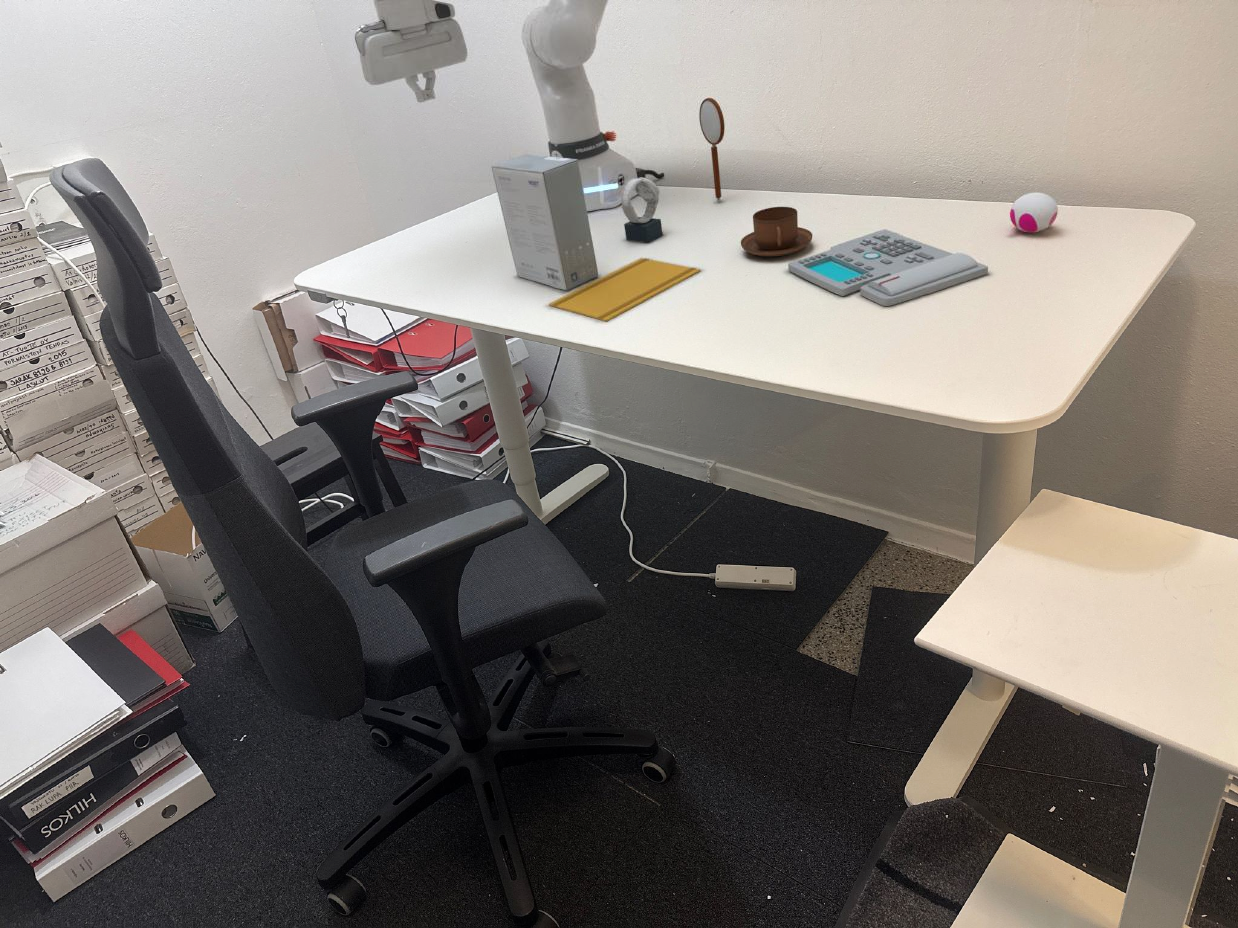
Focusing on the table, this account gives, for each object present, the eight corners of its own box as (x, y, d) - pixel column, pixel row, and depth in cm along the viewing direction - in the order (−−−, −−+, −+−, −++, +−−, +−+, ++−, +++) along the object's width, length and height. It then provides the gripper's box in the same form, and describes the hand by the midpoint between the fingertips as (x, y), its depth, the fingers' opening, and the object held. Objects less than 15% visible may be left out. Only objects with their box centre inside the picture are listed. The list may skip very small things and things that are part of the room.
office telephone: (991, 257, 117) (876, 297, 112) (989, 274, 119) (876, 314, 113) (885, 221, 136) (781, 253, 130) (884, 236, 137) (782, 269, 132)
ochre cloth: (641, 259, 147) (641, 257, 146) (700, 271, 137) (700, 269, 137) (549, 305, 135) (548, 303, 135) (606, 321, 126) (606, 319, 126)
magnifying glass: (733, 205, 165) (724, 99, 154) (725, 207, 164) (716, 101, 153) (712, 197, 172) (702, 95, 161) (705, 199, 171) (694, 97, 160)
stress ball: (1003, 247, 134) (985, 219, 130) (1041, 210, 133) (1023, 181, 129) (1036, 258, 127) (1018, 229, 124) (1076, 219, 126) (1059, 189, 123)
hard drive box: (600, 276, 143) (579, 159, 132) (566, 292, 139) (542, 172, 128) (548, 262, 153) (524, 152, 142) (515, 276, 149) (488, 165, 139)
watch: (669, 232, 157) (661, 173, 151) (642, 246, 152) (633, 186, 147) (646, 229, 161) (639, 172, 155) (620, 243, 156) (610, 185, 150)
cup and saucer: (825, 250, 136) (825, 213, 133) (759, 268, 134) (757, 231, 131) (792, 232, 146) (791, 197, 143) (730, 248, 144) (727, 213, 141)
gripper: (360, 26, 135) (386, 115, 142) (461, 4, 145) (480, 87, 153) (342, 28, 139) (368, 114, 146) (441, 6, 149) (461, 87, 157)
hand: (426, 100), depth 150 cm, fingers closed
